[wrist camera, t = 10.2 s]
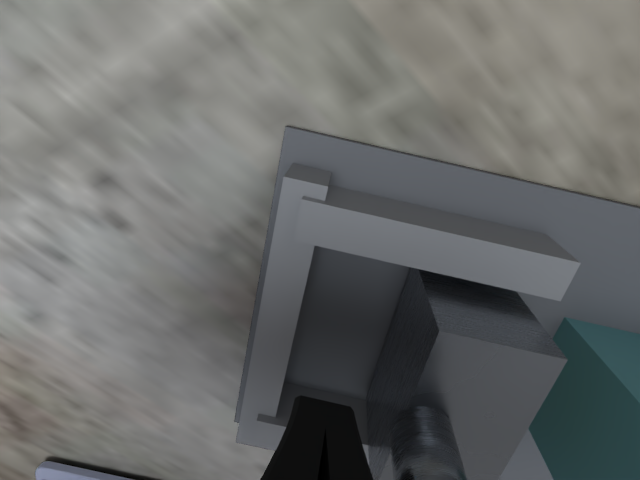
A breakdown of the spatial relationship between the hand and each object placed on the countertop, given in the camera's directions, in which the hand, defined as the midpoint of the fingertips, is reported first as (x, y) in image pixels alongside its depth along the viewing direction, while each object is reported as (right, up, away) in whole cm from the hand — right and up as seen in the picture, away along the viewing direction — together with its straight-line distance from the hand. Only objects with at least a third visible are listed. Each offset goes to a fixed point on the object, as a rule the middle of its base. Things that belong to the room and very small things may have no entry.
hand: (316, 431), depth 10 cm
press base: (+6, +1, +5) cm, 7 cm away
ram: (+4, +1, +5) cm, 6 cm away
